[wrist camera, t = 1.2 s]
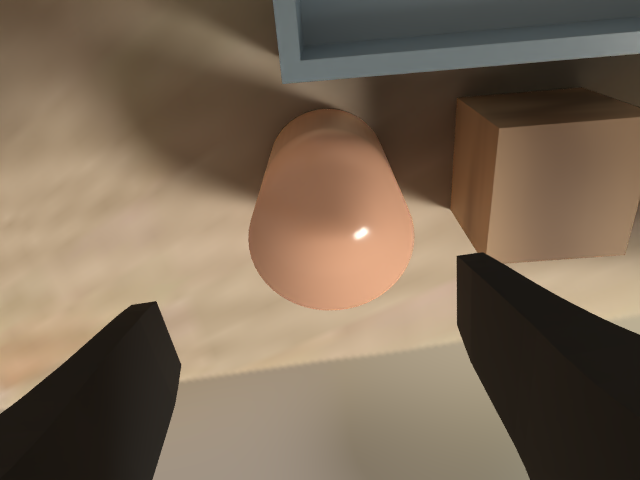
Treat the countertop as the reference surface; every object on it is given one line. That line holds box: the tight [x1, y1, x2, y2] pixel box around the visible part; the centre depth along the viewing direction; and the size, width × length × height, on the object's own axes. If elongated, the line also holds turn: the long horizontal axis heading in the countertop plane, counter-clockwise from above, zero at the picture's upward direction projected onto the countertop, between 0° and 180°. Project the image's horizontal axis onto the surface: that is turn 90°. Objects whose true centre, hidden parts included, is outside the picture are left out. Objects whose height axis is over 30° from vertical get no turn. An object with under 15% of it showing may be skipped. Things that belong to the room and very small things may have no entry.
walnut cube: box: [450, 87, 640, 264], centre depth 18 cm, size 5×5×5 cm
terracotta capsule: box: [248, 109, 414, 310], centre depth 17 cm, size 5×5×7 cm
